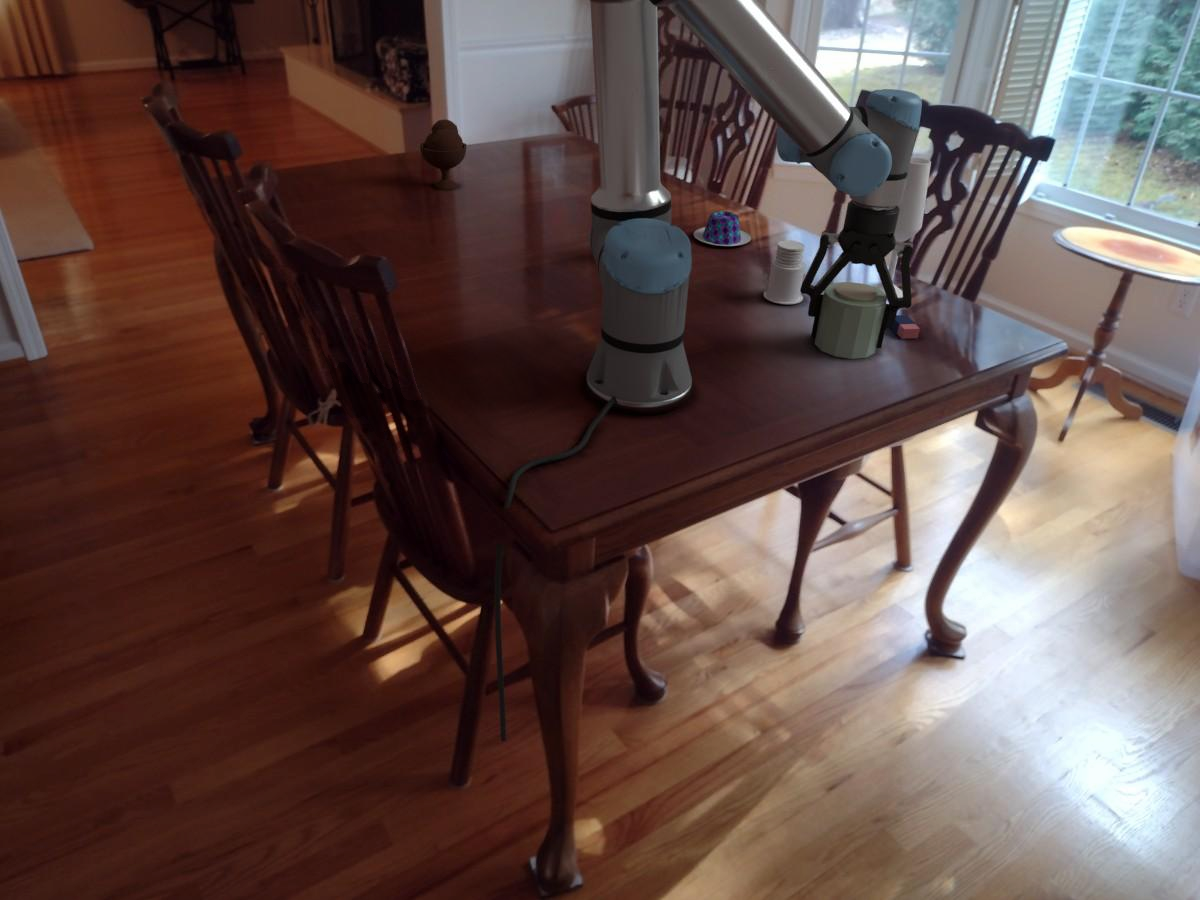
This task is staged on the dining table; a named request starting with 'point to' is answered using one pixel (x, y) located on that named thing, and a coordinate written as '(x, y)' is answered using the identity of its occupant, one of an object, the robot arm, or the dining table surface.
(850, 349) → the green canister
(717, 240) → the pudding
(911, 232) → the champagne flute
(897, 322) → the eraser
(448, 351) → the dining table surface
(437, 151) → the ice cream bowl
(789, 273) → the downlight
